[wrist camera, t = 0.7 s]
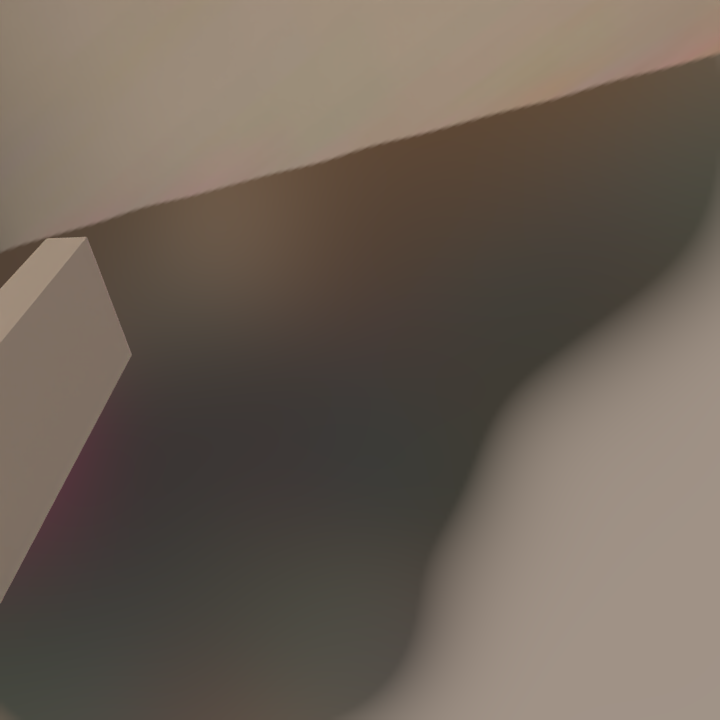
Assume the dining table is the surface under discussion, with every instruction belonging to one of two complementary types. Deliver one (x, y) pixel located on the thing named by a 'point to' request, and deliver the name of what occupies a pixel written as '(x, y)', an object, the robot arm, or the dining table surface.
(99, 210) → the dining table surface
